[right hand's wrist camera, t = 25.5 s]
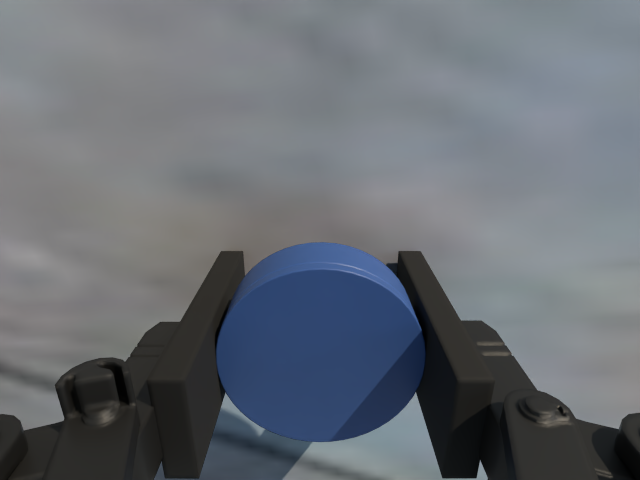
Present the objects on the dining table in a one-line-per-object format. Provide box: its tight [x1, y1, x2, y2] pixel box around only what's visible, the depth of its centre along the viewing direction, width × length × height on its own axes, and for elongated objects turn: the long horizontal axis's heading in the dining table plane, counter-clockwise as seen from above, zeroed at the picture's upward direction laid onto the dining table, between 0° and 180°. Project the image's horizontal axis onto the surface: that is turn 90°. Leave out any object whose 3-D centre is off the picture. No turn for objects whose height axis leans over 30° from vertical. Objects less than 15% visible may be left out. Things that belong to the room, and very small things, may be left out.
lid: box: [216, 242, 426, 442], centre depth 11 cm, size 5×5×2 cm
